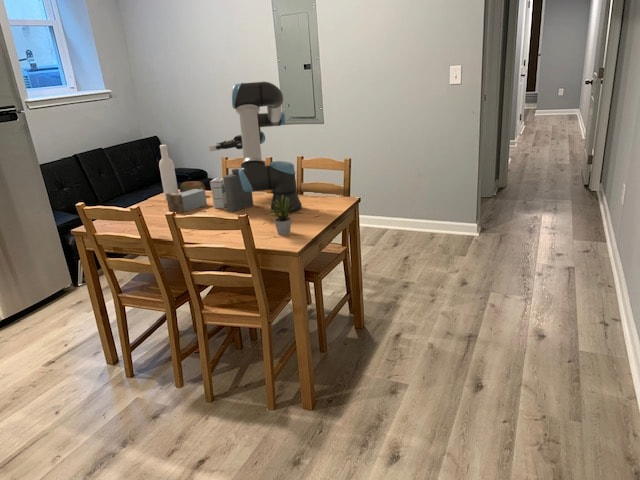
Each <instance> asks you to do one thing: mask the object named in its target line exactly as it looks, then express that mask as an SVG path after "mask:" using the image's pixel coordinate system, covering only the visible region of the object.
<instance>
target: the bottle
mask: <svg viewBox="0 0 640 480" xmlns="http://www.w3.org/2000/svg"><path fill="white" fill-rule="evenodd" d="M159 149H160V155H161V159H160V160H159V163H158V166H159V171H160V178H161V184H162V189H163V197H164V199H165V200H166V201H167V197H166V194H167V193H175V194H178V193H180V192H179V189H178V187H179V186H178V182H177V176H176V171H175V164H174V161H173V160H172V158H171V157H169V153H168V146H167V144H160V145H159Z"/></svg>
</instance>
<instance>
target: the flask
mask: <svg viewBox="0 0 640 480" xmlns="http://www.w3.org/2000/svg"><path fill="white" fill-rule="evenodd" d="M238 169H239V168H232V169H231V173H230V174H227V175H224V176H223V177H222V178H223V180H224V187H225V195H226V202H227V206H226V208H227V212H228V213H235V212H238V211H240V210H243V209H246V208H252V207H253V206H254V200H253V192H245V191H244V190H243V188H242V184H241V180H240V176H239V171H238Z"/></svg>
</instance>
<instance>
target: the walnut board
mask: <svg viewBox="0 0 640 480" xmlns="http://www.w3.org/2000/svg"><path fill="white" fill-rule="evenodd" d="M166 197H167V200H166V201H167V202H166V203H167V207H168V211H170V212H174V211H175V212H174V213H179V214H181V213H185V212H184V207H183V201H182V195H181V194H175V193H167V194H166Z"/></svg>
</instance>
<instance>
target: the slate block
mask: <svg viewBox="0 0 640 480" xmlns="http://www.w3.org/2000/svg"><path fill="white" fill-rule="evenodd" d="M178 194H181V195H182V201H183V207H184V212H183V213H185V212H188V211H192V210H194V209H198V208H200V207H204V206H208V203H207V195H206V189H205V190H201V189H192V190H189V191H185V192H182V193H181V192H179V193H178Z"/></svg>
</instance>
